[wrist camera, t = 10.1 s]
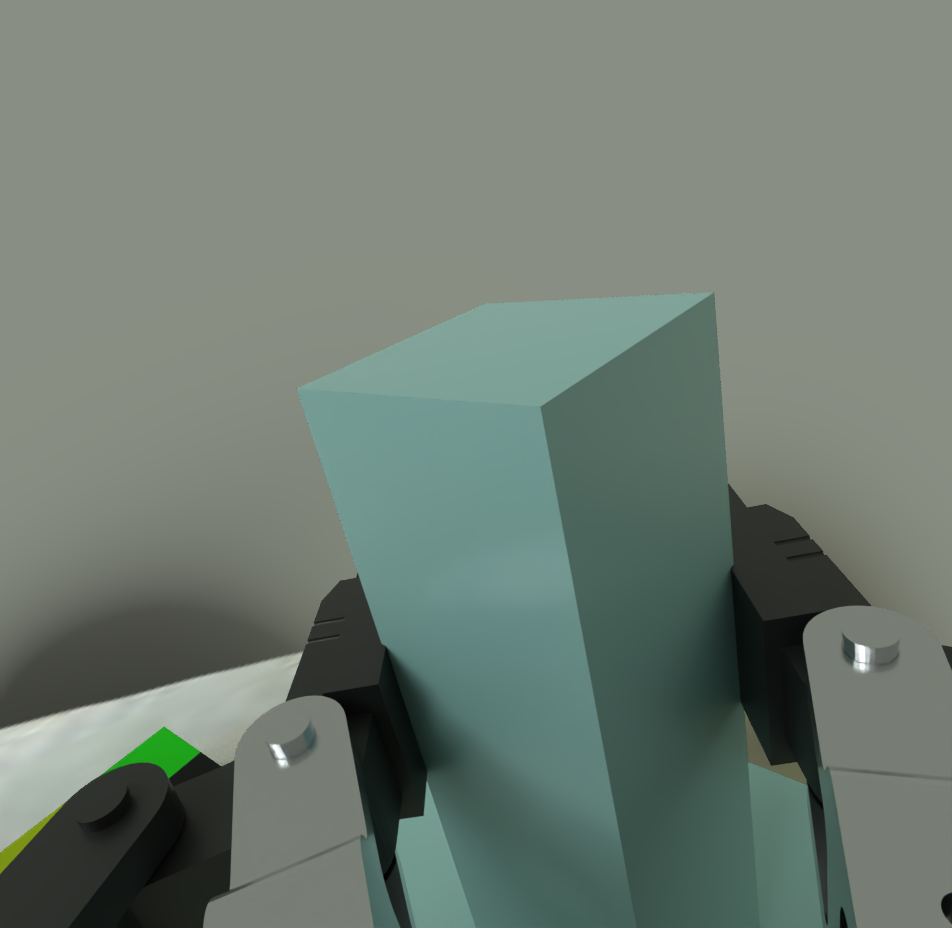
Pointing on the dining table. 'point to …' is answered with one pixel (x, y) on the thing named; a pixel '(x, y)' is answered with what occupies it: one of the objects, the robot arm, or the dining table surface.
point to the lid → (564, 618)
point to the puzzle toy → (158, 749)
